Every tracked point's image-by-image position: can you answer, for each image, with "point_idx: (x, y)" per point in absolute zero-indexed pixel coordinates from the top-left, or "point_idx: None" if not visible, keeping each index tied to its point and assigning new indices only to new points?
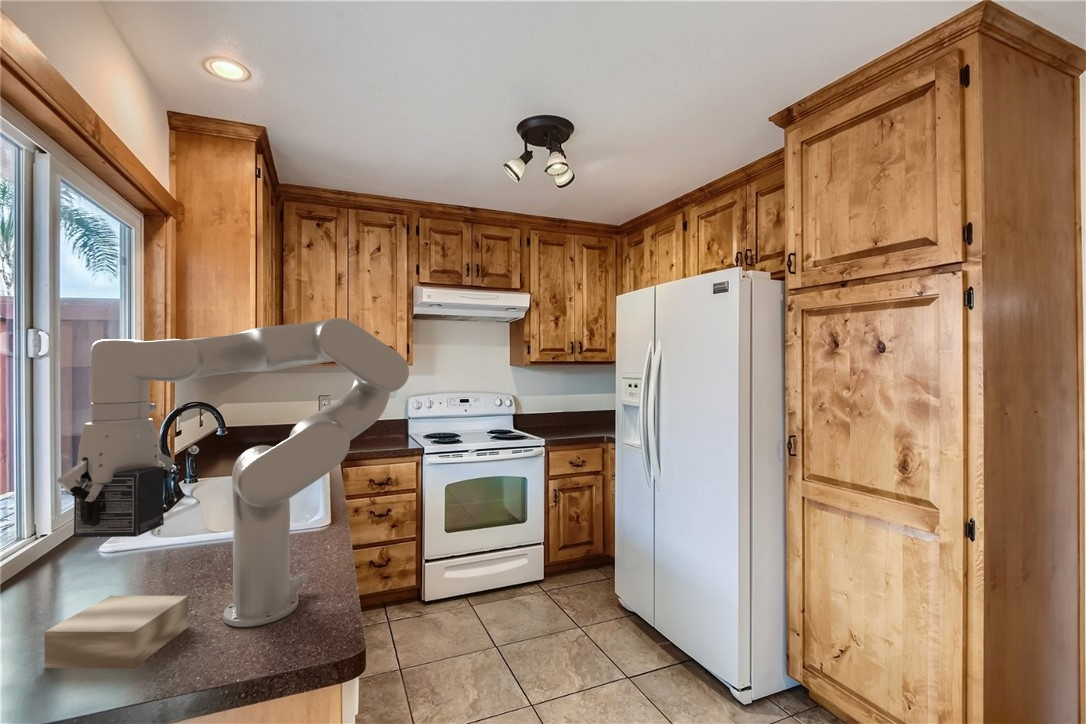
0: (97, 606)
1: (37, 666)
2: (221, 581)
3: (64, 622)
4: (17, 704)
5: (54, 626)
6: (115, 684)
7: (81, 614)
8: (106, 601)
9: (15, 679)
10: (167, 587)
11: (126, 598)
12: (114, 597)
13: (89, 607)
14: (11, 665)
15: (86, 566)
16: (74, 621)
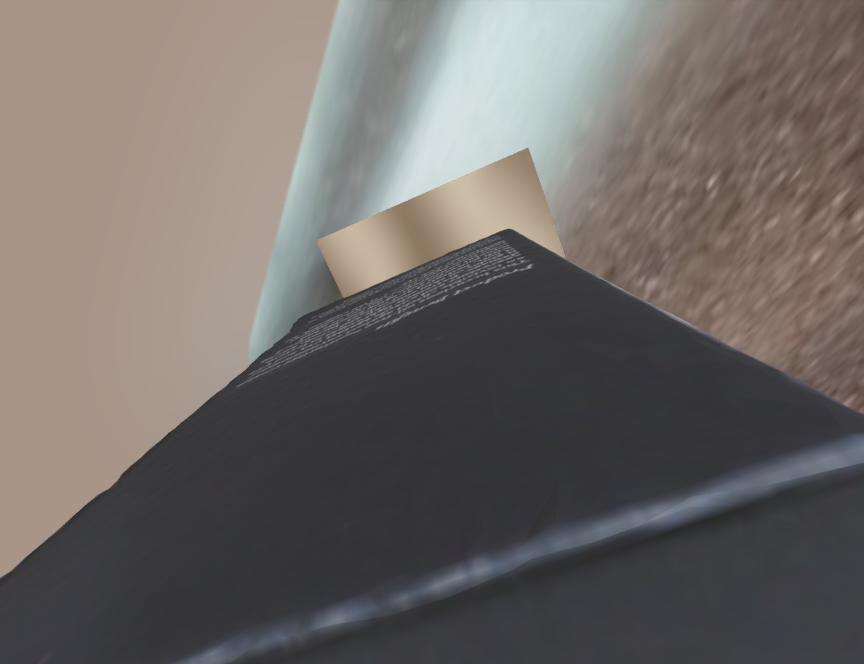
0: (461, 203)
1: (334, 209)
2: (854, 157)
3: (364, 231)
4: (262, 338)
5: (341, 232)
6: None
7: (412, 218)
8: (494, 188)
9: (290, 227)
10: (770, 11)
11: (531, 228)
12: (522, 179)
13: (448, 184)
14: (307, 141)
15: None
16: (381, 250)
